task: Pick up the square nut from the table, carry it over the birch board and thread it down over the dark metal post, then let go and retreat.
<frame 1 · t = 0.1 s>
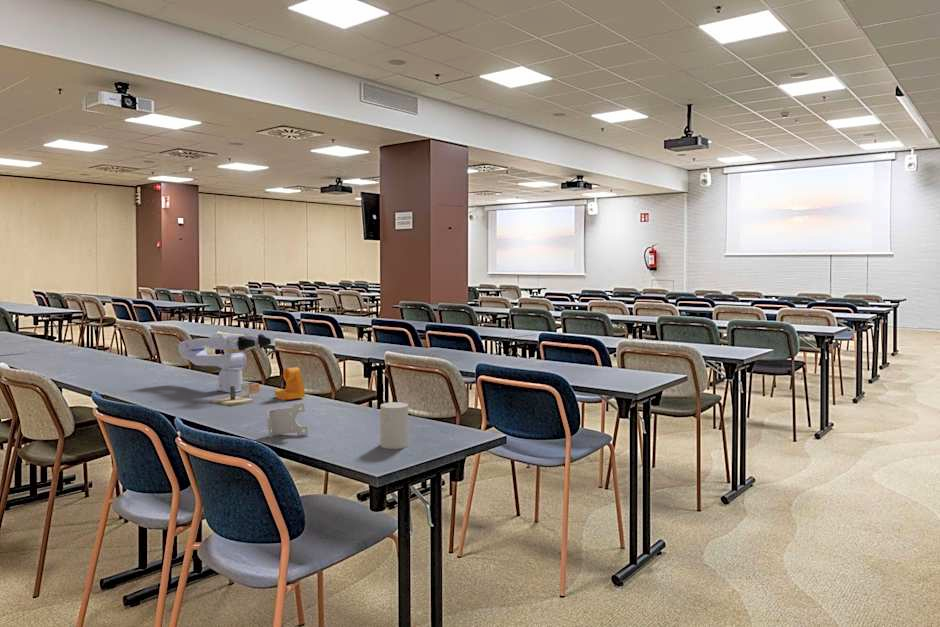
hand: (262, 342, 276), 22 cm above the table, fingers open, 7 cm apart
bracket: (287, 437, 216), on the table
nut: (250, 396, 278), on the table
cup: (394, 445, 207), on the table
bracket 2: (289, 398, 275), on the table
post block: (233, 401, 267), on the table
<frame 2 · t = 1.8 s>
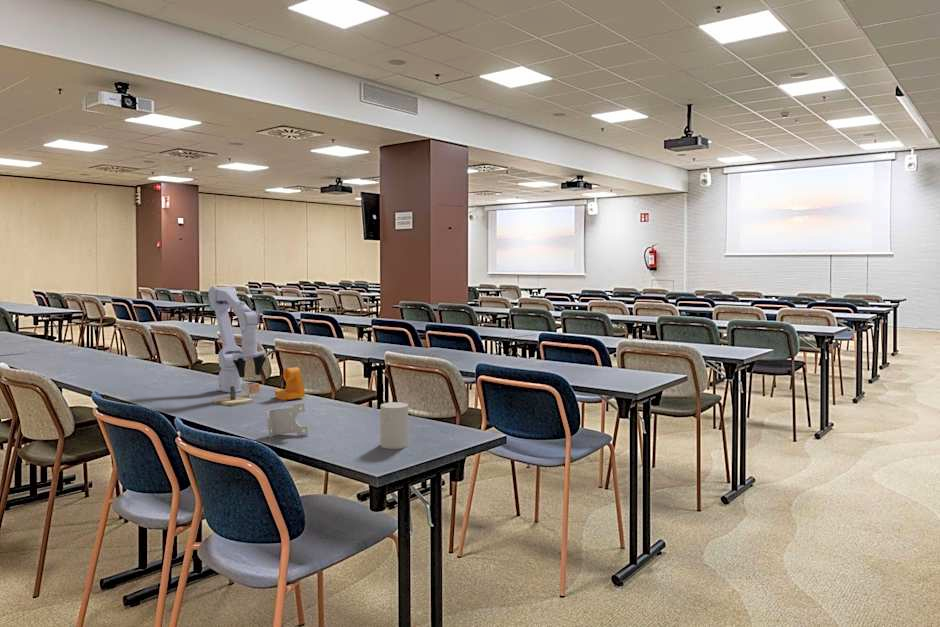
hand: (249, 376, 277), 8 cm above the table, fingers open, 7 cm apart
nothing on the table moved.
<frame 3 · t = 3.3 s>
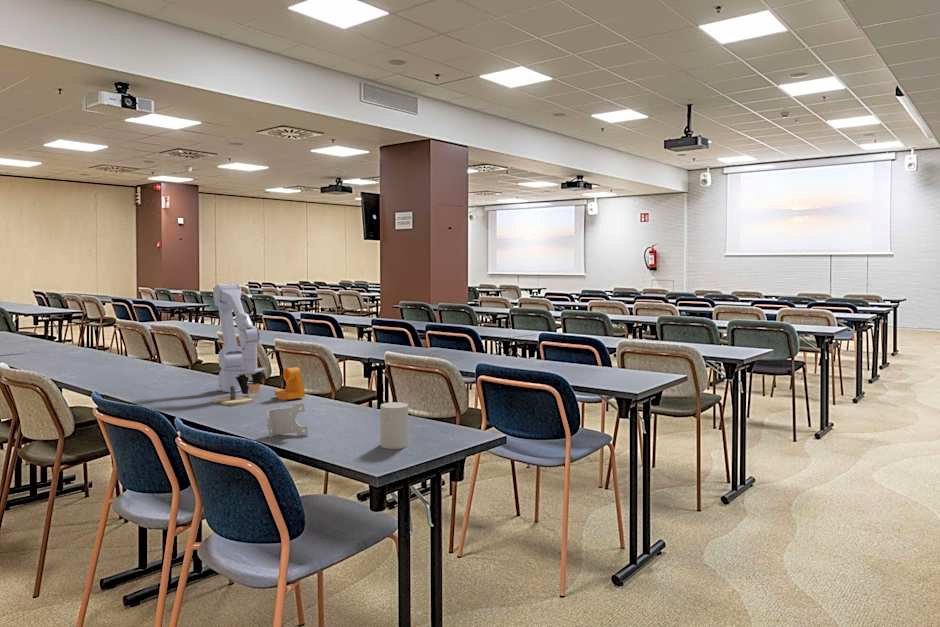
hand: (250, 392, 278), 1 cm above the table, fingers closed on nut, 5 cm apart
nut: (250, 396, 278), on the table, touching gripper
everything else where it was.
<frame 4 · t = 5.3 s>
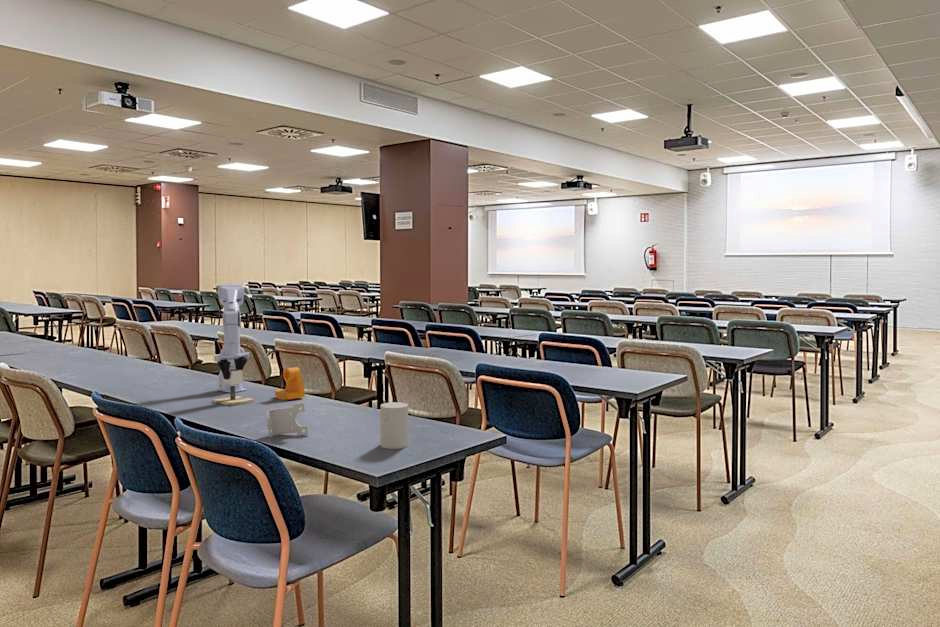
hand: (232, 378, 266), 9 cm above the table, fingers closed on nut, 5 cm apart
nut: (233, 383, 266), point 7 cm above the table, touching gripper
everything else where it was.
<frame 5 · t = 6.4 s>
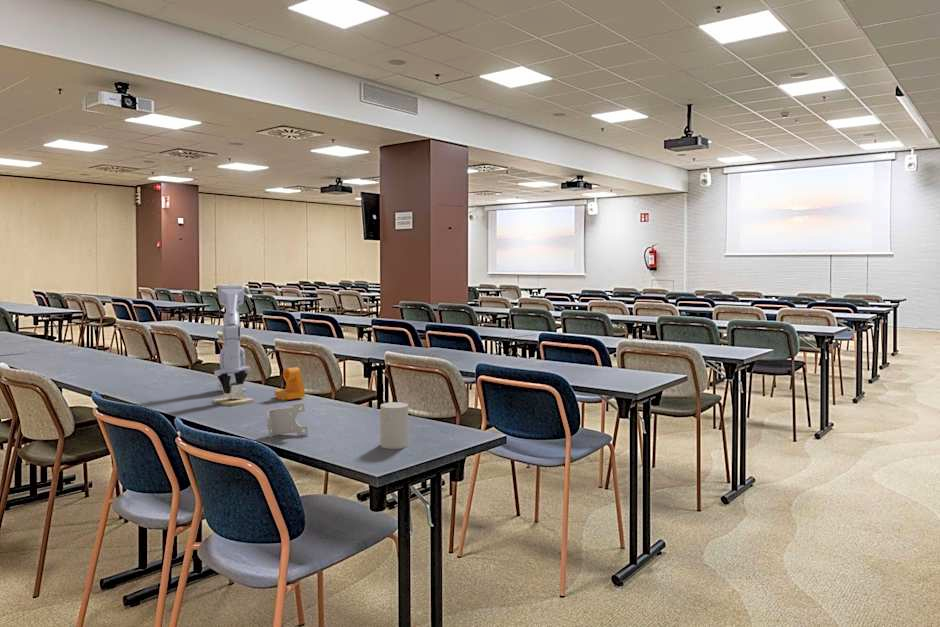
hand: (232, 392, 266), 4 cm above the table, fingers closed on nut, 5 cm apart
nut: (233, 397, 266), point 2 cm above the table, touching gripper
everything else where it was.
when the fingers open (3 cm above the table, at t = 7.4 s): nut stays where it is, resting on post block.
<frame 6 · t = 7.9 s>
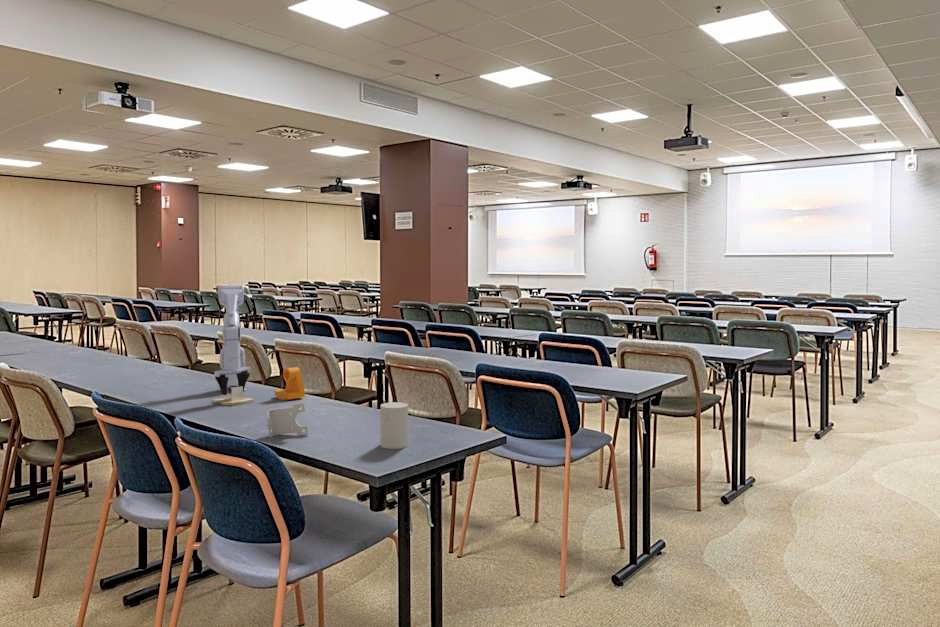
hand: (232, 393, 266), 3 cm above the table, fingers open, 7 cm apart
nut: (233, 399, 267), point 1 cm above the table, touching post block
everything else where it was.
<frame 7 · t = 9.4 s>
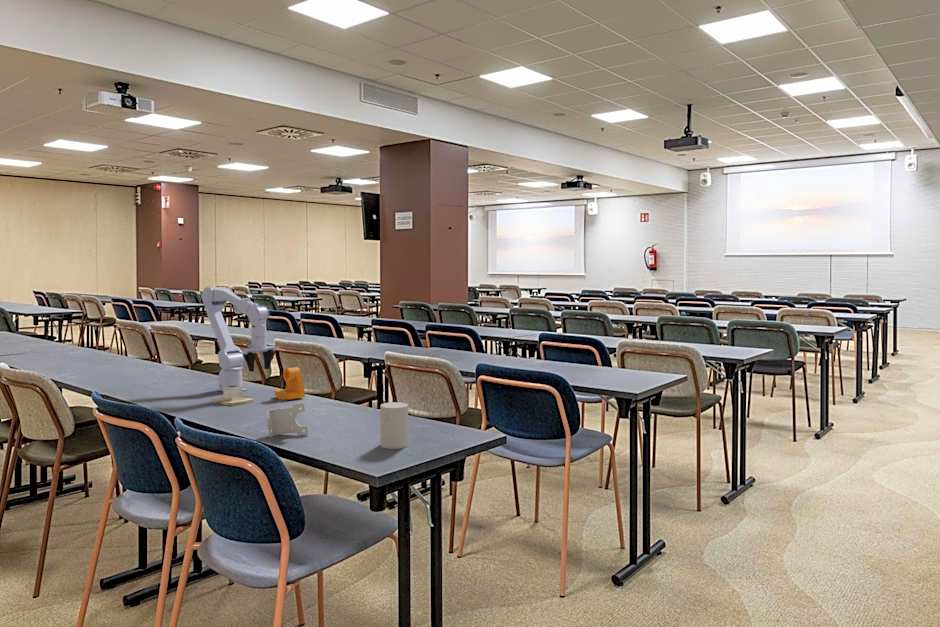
hand: (259, 370, 281), 10 cm above the table, fingers open, 7 cm apart
nothing on the table moved.
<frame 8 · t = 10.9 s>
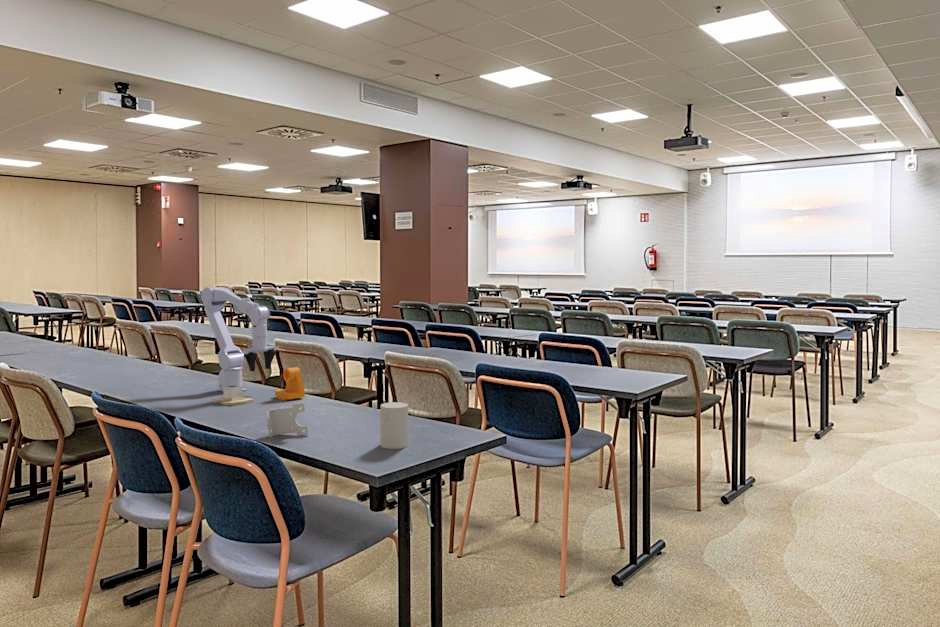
hand: (260, 369, 281), 10 cm above the table, fingers open, 7 cm apart
nothing on the table moved.
at the end: nut 0.2 cm off-centre on the post block, point 1.0 cm above the post block's base; the gripper is holding nothing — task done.
